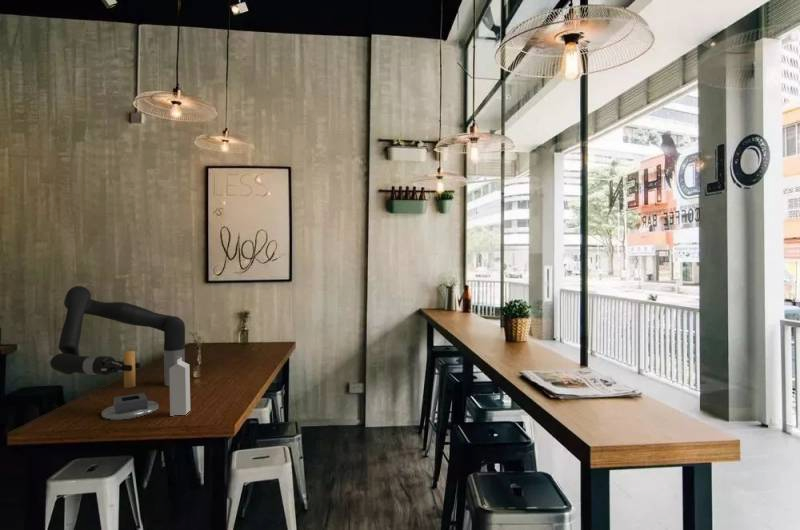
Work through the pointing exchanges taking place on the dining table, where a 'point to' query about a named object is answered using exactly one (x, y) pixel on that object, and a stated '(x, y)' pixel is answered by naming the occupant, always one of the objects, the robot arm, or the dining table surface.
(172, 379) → the milk
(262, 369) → the dining table surface
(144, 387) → the dining table surface
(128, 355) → the pin
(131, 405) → the square frame on disc
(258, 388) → the dining table surface
